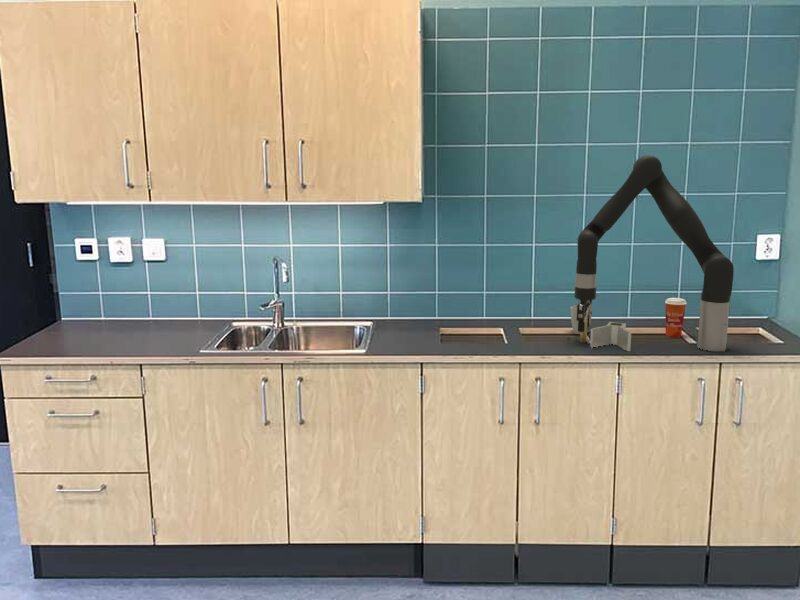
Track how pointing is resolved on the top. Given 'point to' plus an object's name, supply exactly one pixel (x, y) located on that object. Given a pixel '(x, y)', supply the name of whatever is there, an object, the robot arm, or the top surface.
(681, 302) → the paper cup
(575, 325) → the cup
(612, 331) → the grey finned stand
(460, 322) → the top surface
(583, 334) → the pin
